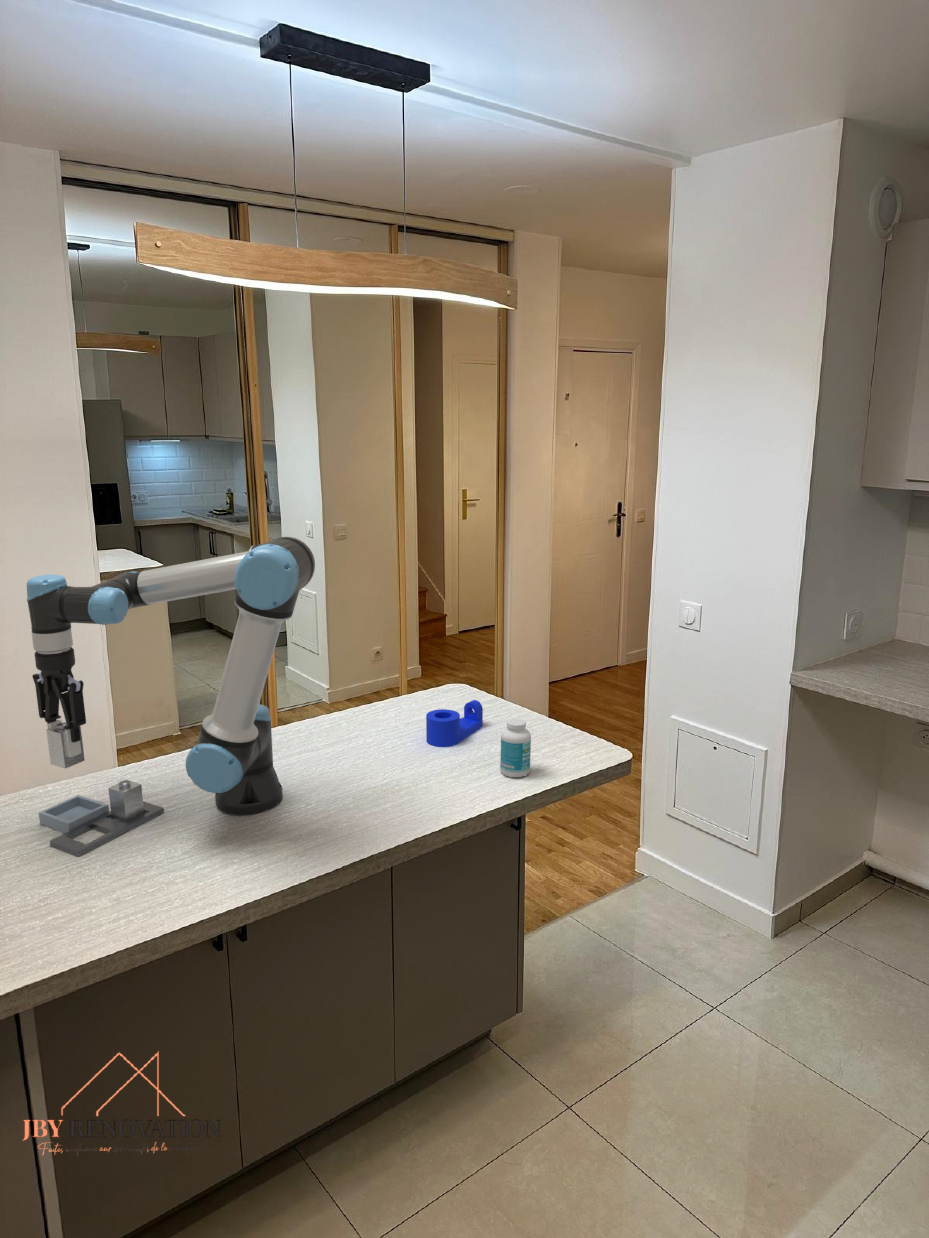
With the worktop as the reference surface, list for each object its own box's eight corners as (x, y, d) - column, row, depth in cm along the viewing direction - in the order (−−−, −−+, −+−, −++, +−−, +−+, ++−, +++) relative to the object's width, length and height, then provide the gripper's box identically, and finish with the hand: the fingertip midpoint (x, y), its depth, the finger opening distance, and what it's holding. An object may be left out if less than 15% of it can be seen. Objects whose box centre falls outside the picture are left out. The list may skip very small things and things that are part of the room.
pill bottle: (528, 780, 209) (529, 728, 205) (498, 777, 210) (498, 726, 207) (531, 767, 216) (533, 717, 212) (502, 765, 217) (503, 715, 214)
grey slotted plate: (136, 803, 196) (135, 798, 196) (163, 812, 192) (163, 807, 192) (50, 845, 177) (49, 840, 177) (78, 856, 173) (78, 851, 173)
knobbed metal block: (84, 760, 186) (80, 722, 184) (65, 768, 182) (60, 730, 180) (70, 756, 188) (65, 718, 186) (50, 764, 184) (45, 725, 182)
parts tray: (109, 815, 190) (108, 804, 190) (69, 834, 182) (68, 823, 181) (79, 805, 195) (78, 794, 194) (39, 823, 187) (38, 812, 186)
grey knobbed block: (144, 817, 190) (141, 780, 188) (126, 826, 186) (122, 789, 184) (129, 812, 192) (126, 776, 190) (111, 821, 188) (107, 784, 186)
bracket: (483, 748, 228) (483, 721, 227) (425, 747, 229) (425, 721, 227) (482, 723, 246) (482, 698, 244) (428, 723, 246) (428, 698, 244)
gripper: (97, 650, 178) (108, 754, 184) (42, 639, 186) (55, 738, 192) (66, 659, 171) (78, 767, 177) (10, 647, 180) (24, 750, 186)
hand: (66, 752), depth 185 cm, fingers closed on knobbed metal block, 5 cm apart
